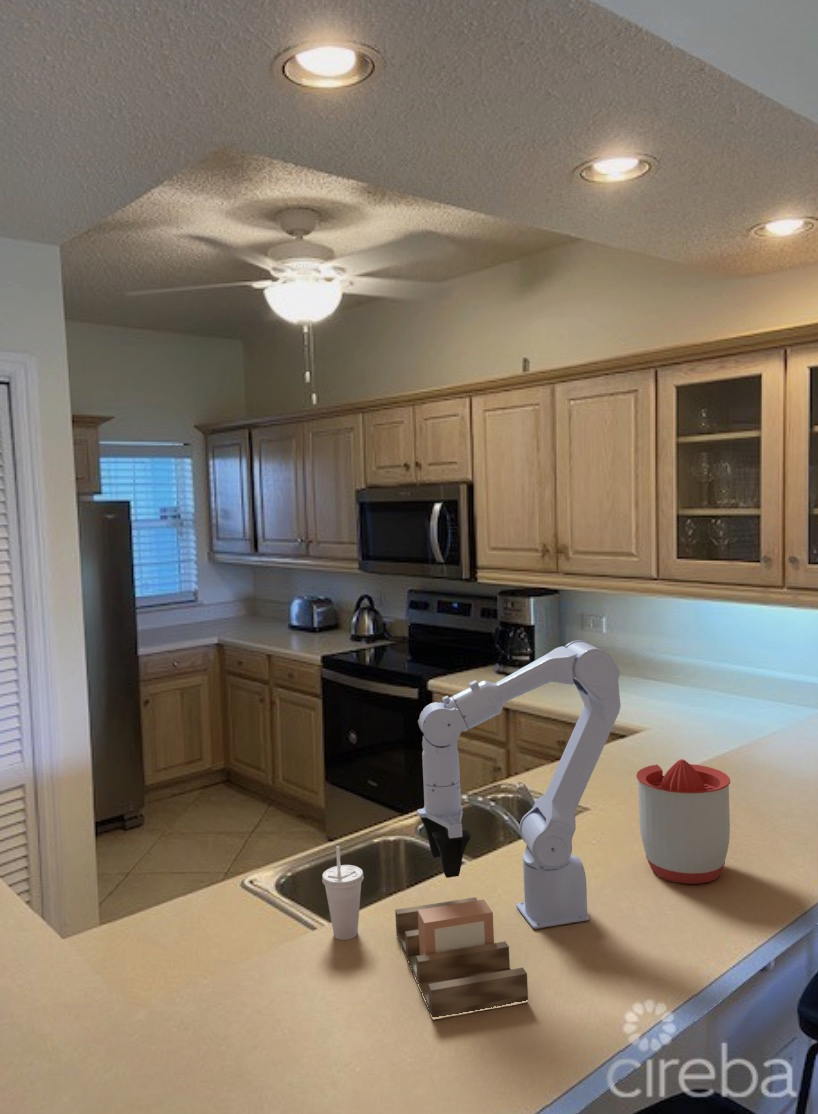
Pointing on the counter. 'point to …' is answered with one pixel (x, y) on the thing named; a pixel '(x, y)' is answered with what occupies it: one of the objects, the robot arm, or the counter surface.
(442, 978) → the rack
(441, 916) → the pink rectangular block
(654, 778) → the citrus juicer
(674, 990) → the counter surface
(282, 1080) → the counter surface
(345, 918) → the smoothie
